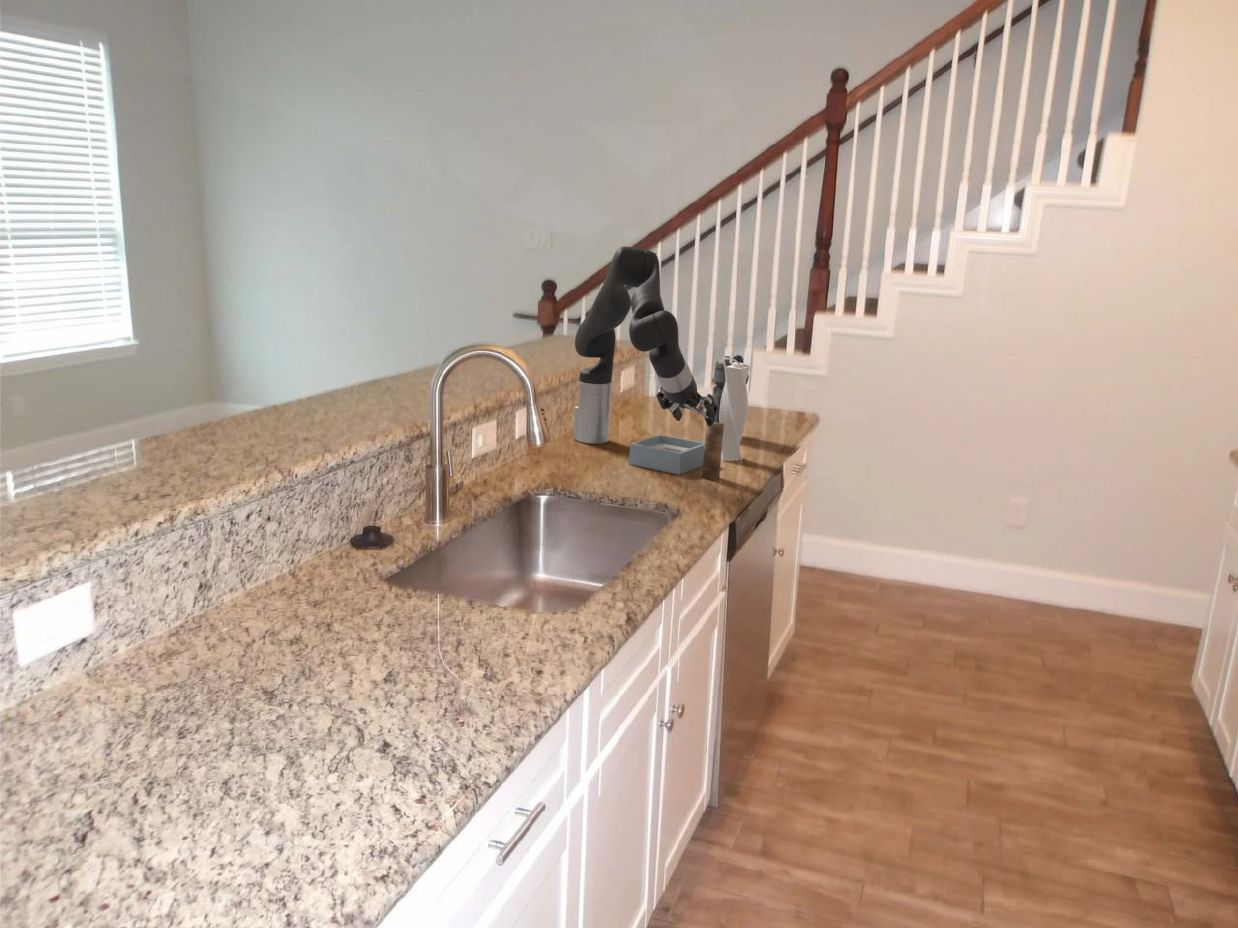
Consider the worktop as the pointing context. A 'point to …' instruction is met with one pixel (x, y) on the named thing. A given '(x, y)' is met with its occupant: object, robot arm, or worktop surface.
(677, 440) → the box
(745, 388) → the skyscraper
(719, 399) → the dark tall piece
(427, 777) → the worktop surface
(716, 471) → the peg
